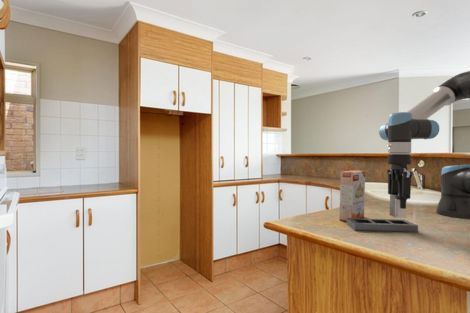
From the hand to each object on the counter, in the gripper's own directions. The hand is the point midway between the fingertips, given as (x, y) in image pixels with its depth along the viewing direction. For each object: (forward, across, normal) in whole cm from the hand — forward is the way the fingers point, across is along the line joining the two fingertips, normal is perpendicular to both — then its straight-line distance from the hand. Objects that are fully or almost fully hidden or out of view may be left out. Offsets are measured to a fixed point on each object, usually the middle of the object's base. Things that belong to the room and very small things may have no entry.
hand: (398, 215), depth 102 cm
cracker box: (+5, -14, -12) cm, 19 cm away
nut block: (0, 0, 0) cm, 0 cm away
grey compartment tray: (+5, 0, -6) cm, 8 cm away
